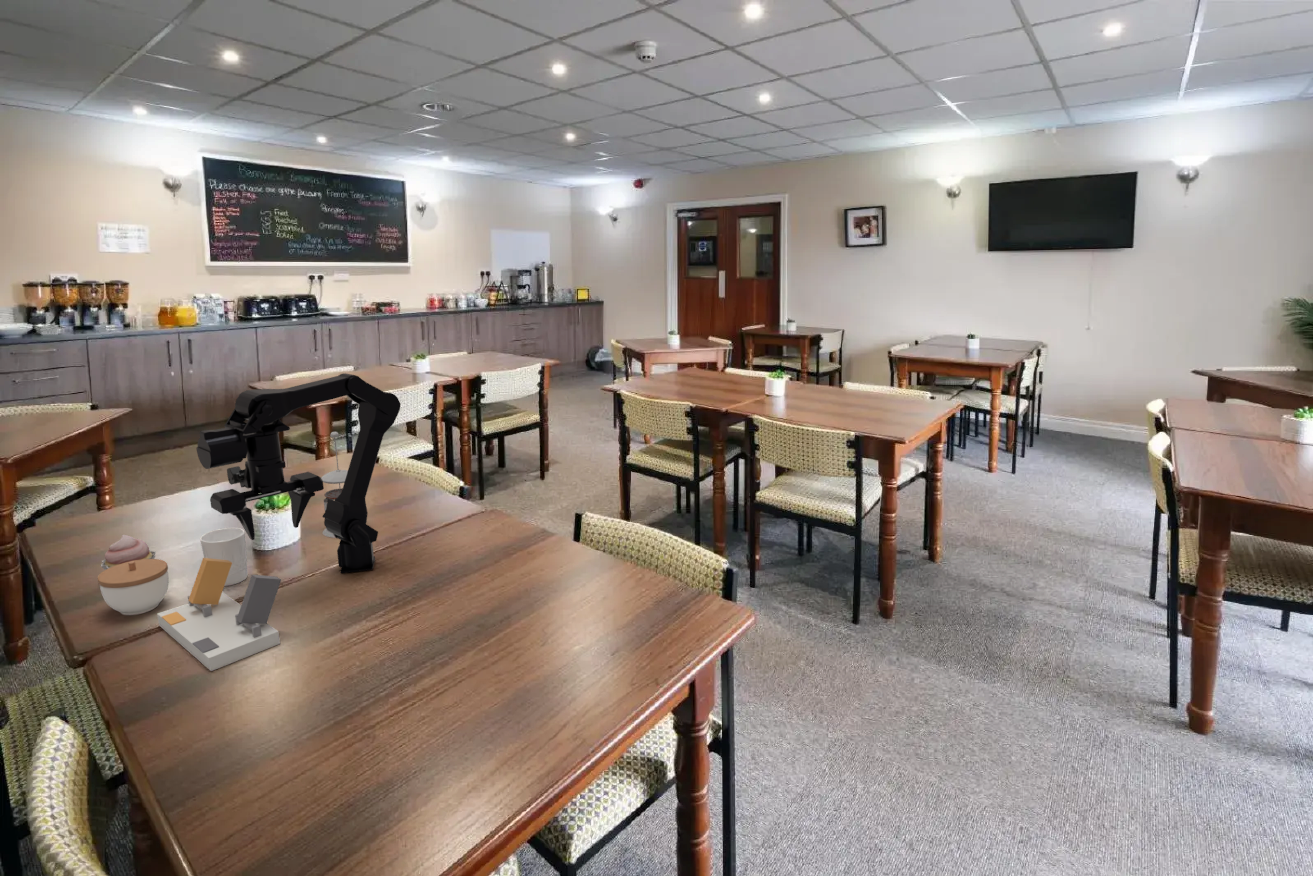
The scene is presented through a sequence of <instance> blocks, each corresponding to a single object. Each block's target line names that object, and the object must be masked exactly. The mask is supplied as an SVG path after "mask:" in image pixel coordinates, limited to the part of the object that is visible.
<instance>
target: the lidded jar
mask: <svg viewBox="0 0 1313 876" xmlns="http://www.w3.org/2000/svg"><path fill="white" fill-rule="evenodd" d="M168 569H169V566H168V562H166V561H165V560H162V559H160V558H159V559H158V558H154V559H141V560H134V561H129V562H125V563H122V564H118V565H116V566H113V567H111V568H108V569H106V570H105V569H104V570H103V571H101V572H100V573H99V574H98V576H97V583H98V585H99V589H100V593H101V595H102V598H103V600H104V602H105V603H106V605H108V607H110V608H111V609H112V610H114V611H117V612H119V613H120V614H121V615H123V616H136V615H141V614H144V613H148V612H150V611H152V610H154V609H156V608H157V607H159V605H160V603H161V601H162V600H163V599H164V598H165V597H166V594H167V593H168V590H169V584H170V577H169V571H168Z"/></svg>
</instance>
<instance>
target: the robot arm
mask: <svg viewBox="0 0 1313 876" xmlns="http://www.w3.org/2000/svg"><path fill="white" fill-rule="evenodd" d="M343 397H348V398H349V399H350V400H351V401H352V402H354V403H356V404H357V405H358V410H357V418H358V423H359V432H358V435H357V439H356V441H355V442H356V443H355V445H354V449H353V452H352V455H351V458H350V463H349V466H348V469H347V470H348V472H347V476H346V479H345V482H344V483H343V485H342V488H343V489H342V492H341V494H340V495H339V496H338V497H337V498H336V499H335V500H332V499H329V500H328V502H327V508H326V511H325V510H324V513H323V515H322V518H324V521H323V524H324V527H325V528H327V530H328V531H329V532H331V533H333V534H334V536H335V538H336V539H338V540H339V544H338V547H337V550H336V551H337V561H338V567H339V568H340V571H339V572H340V573H341V574H346V573H347V574H348V573H353V572H354V573H355V572H366V571H373V570H374V568H375V567H374V565H375V563H376V556H374V545H373V543H374V542H377V540H378V536H379V535H378V534H379V531H377V529H374V527H371V526H370V525H368V524H367V521H368V514H369V513H368V508H367V503H366V497H367V494H368V490H369V487H370V483H371V480H372V475H373V472H374V469H375V466H376V462H377V459H378V456H379V452H380V448H381V446H382V445H381V444H382V442H383V438H384V436H385V433H386V432H387V431H389V429H390V428H391V427H392V426H393V425H394V424H395V421H396V419H397V417H398V415H399V413H400V410H401V402H400V399H399V398H398V397H397V395H396V394H395V393H392V392H387V391H383V390H382V389H380V388H378V387H376V386H374V385H372V384H371V383H369V382H366V381H365V380H364V379H362V378H361V377H360V376H358V375H356V374H350V373H346V372H345V373H343V372H342V373H340V374H338V375H336V376H331V377H328V378H324V379H320V380H314V381H312V382H311V381H310V382H307V383H302V384H298V385H295V386H290V387H286V388H262V389H261V388H260V389H248V390H244V391H242V392H241V393H239V394H238V397H237V398H236V400H235V403H234V409H233V410H232V412H231V414H230V415H229V417H228V419H227V420H226V422H225V424H224V427H222V428H218V429H217V428H216V429H206V430H205V429H204V430H200V431H199V436H200V437H199V438H198V440H197V447H196V454H197V457H198V460H199V463H200V464H201V466H202V467H203V468H204V469H206V470H210V469H213V468H214V469H215V468H219V467H223V466H229V465H232V464H238V463H241V462H243V459H246V460H247V461H246V460H245V461H244V462H245V463H244V467H245V468H244V469H241V467H240V466H239V465H238V466H233V467H229V468H227V469H226V475H227V479H228V484H229V485H236V484H239V485H240V488H246V489H250V490H246V491H241V492H240V491H238V490H237V489H234V488H230V489H227V490H222V491H217V492H213V493H212V494H211V496H210V498H209V501H210V506H211V509H213V510H215V511H217V512H218V513H220V514H222V515H224V514H230V515H232V516H235V517H236V518H237V519H238V521H239V523H240V524H241V526H242V529H243V530H244V531H245V534H247V536H248V537H249V539H250V541H254V540H256V539H255V537H256V536H255V535H256V533H255V526H254V520H253V514H252V509H251V508H249V507H247V502H251V501H256V500H260V499H265V498H269V497H272V496H276V495H280V494H284V493H287V494H288V496H289V498H290V505H291V507H290V509H291V521H292V525H293V527H294V528H295V529H296V528H299V525H300V522H301V520H302V517H303V515H304V512H305V511H306V507H307V506H308V504H309V502H310V500H311V498H313V497H315V495H316V492H320V491H323V490H324V488H325V487H324V482H323V480H322V479H321V477H322V476H319V475H318V474H315V473H312V472H309V471H306V472H301V473H296V474H293V475H291V476H290V478H289V481H286V480H285V475H284V468H285V467H286V463H285V461H283V458H282V450H281V443H280V436H279V434H280V433H281V432H287V431H290V430H291V428H290V426H289V425H287V424H285V423H284V422H283V421H282V420H281V419H283V418H285V417H286V416H288V415H289V414H291V413H292V412H294V411H295V410H297V409H300V408H305V407H308V406H312V405H316V404H320V403H323V402H326V401H330V400H335V399H339V398H343ZM245 421H247V422H245Z"/></svg>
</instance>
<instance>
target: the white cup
mask: <svg viewBox="0 0 1313 876" xmlns="http://www.w3.org/2000/svg"><path fill="white" fill-rule="evenodd" d="M199 540H200V546H201V551H202V554H203V558H211V559H221V560H229V561H230V562H232V565H231V568H230V571H229V573H228V576H227V579H226V582H225V585H224V587H227V586H233V585H237V584H239V583H241V582H243V581H245V580H246V579H247V578H248V576H249V575H248V573H249V572H248V558H247V557H248V555H247V554H248V553H247V552H248V551H247V541H246V531H245V529H244V528H240V527H224V528H219V529H214V530H211V531H208V532H206V533H204V534H202V535H201V536H200V538H199Z"/></svg>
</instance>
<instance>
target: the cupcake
mask: <svg viewBox="0 0 1313 876" xmlns="http://www.w3.org/2000/svg"><path fill="white" fill-rule="evenodd" d="M156 553H157V552H156V551H155V550H153V551H152V550H151V549H150V547H149V545H148V543H147V542H146V541H144V540H143V539H140V538H135V537H133V536H132V535H131V536H130V535H127V534H121V537H120V539H119V540H117V541H116V542H113V543H111V545H109V547H108V550H106V552H105V553H104V559H103V560H101V564H100V567H101V568H102V569H103V570H104V571H105V570H106V569H108V568H111V567H113V566H116V565H118V564H122V563H125V562H129V561H134V560H141V559H156Z"/></svg>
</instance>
